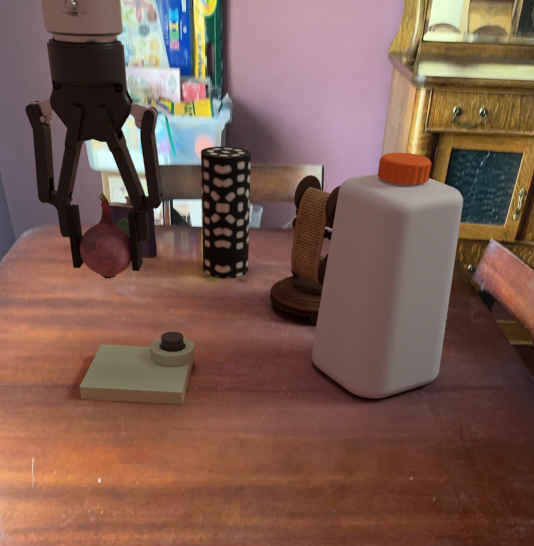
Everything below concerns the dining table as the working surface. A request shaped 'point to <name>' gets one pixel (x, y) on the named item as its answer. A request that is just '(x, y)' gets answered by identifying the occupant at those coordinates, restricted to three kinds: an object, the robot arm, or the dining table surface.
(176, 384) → the scale
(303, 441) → the dining table surface
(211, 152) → the white-spotted black cylinder
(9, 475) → the dining table surface
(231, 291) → the dining table surface
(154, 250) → the flask
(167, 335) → the button
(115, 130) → the robot arm
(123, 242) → the vegetable
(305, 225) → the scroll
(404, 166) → the plastic bottle
